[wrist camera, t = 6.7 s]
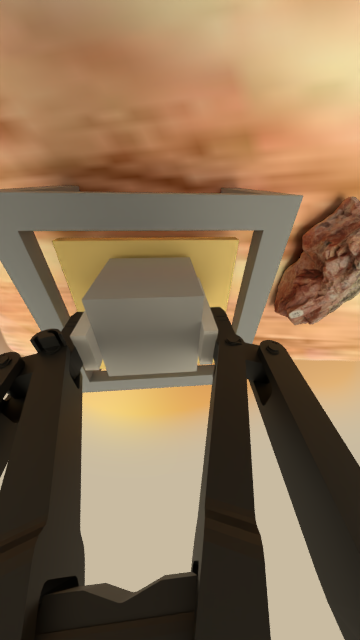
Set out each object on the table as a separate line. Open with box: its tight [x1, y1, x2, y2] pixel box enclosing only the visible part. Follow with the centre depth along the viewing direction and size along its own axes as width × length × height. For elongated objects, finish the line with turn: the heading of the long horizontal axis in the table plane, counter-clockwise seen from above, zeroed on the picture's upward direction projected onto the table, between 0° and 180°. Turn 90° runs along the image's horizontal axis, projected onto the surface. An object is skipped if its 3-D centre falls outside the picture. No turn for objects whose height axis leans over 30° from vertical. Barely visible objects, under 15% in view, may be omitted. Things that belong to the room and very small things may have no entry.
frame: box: [0, 186, 303, 393], centre depth 22 cm, size 20×20×12 cm
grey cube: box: [82, 257, 204, 376], centre depth 13 cm, size 6×6×6 cm
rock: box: [274, 197, 360, 325], centre depth 24 cm, size 16×11×15 cm
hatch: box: [52, 237, 239, 369], centre depth 18 cm, size 14×14×1 cm
